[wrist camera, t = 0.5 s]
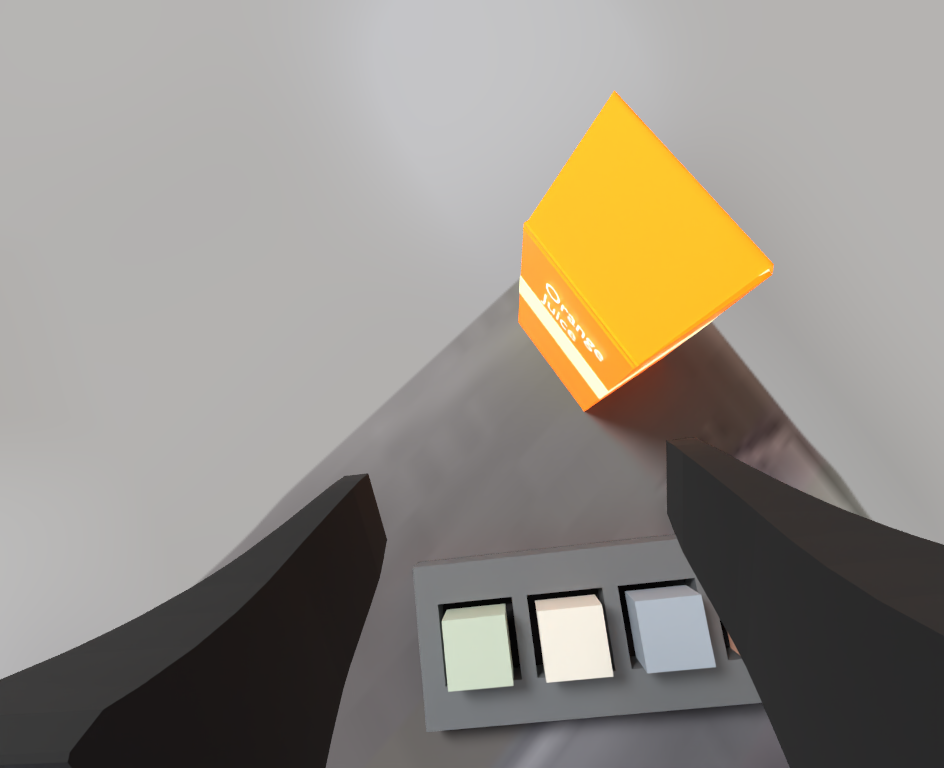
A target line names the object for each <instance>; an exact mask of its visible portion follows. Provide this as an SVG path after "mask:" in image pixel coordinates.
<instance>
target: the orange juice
mask: <svg viewBox="0 0 944 768" xmlns="http://www.w3.org/2000/svg"><path fill="white" fill-rule="evenodd" d="M523 229H524V230H523V249H522V266H521V276H520V287H519V293H520V302H519V321H518V322H519V323H520V325H521V326H522V328H523V329H524V330H525V332H526V333H527V334H528V336H529V337H530V338H531V340H532V341H533V343H534V344H535V345H536V347H537V348H538V349H539V351H540V352H541V353H542V355H543V356H544V357H545V359H546V360H547V362H548V363H549V364H550V366H551V367H552V368H553V370H554V371H555V372H556V374H557V375H558V376H559V378H560V379H561V381H562V382H563V383H564V385H565V386H566V387H567V389H568V390H569V391H570V393H571V394H572V396H573V397H574V398H575V400H576V401H577V402H578V404H579V405H580V406H581V408H582V409H583V410H584V411H586V410H587V409H589V408H590V407H592V406H593V405H595V404H596V403H597V402H599V401H600V400H602V399H603V398H605V397H606V396H608V395H609V394H611V393H612V392H614V391H615V390H617V389H618V388H619V387H621V386H622V385H624V384H625V383H627V382H628V381H630V380H631V379H633V378H634V377H636V376H637V375H638V374H640V373H641V372H643V371H644V370H646V369H647V368H649V367H650V366H652V365H653V364H655V363H656V362H658V361H659V360H660V359H662V358H663V357H665V356H666V355H667V354H669V353H670V352H671V351H673V350H674V349H675V348H677V347H678V346H679V345H681V344H682V343H683V342H685V341H686V340H687V339H689V338H690V337H692V336H693V335H695V334H696V333H697V332H699V331H700V330H701V329H703V328H704V327H705V326H707V325H708V324H709V323H711V322H712V321H713V320H714V319H715V318H716V317H717V316H719V315H720V314H721V313H722V312H723V311H725V310H726V309H728V308H729V307H730V306H732V305H733V304H734V303H736V302H737V301H738V300H740V299H741V298H742V297H743V296H745V295H746V294H747V293H749V292H750V291H751V290H753V289H754V288H755V287H756V286H758V285H759V284H760V283H762V282H763V281H764V280H766V279H767V278H768V277H770V276H771V275H772V274H771V273H772V272H773V263H772V262H771V261H770V260H769V259H768V258H767V257H766V256H765V255H764V253H762V251H761V250H760V249H759V248H758V247H757V246H756V245H755V244H754V243H753V241H752V240H751V239H750V238H749V237H748V236H747V235H746V234H745V233H744V232H743V231H742V229H741V228H740V227H739V226H738V225H737V224H736V223H735V222H734V221H733V220H732V219H731V217H730V216H729V215H728V214H727V213H726V212H725V211H724V210H723V209H722V208H721V207H720V206H719V204H718V203H717V202H716V201H715V200H714V199H713V198H712V197H711V196H710V195H709V193H708V192H707V191H706V190H705V189H704V188H703V187H702V186H701V185H700V184H699V182H698V181H697V180H696V179H695V178H694V177H693V176H692V175H691V174H690V173H689V172H688V170H687V169H686V168H685V167H684V166H683V165H682V164H681V163H680V162H679V161H678V160H677V158H675V156H674V155H673V154H672V153H671V152H670V151H669V150H668V149H667V148H666V147H665V146H664V144H663V143H662V142H661V141H660V140H659V139H658V138H657V137H656V136H655V134H654V133H653V132H652V131H651V130H650V129H649V128H648V127H647V126H646V125H645V124H644V122H643V121H642V120H641V119H640V118H639V117H638V116H637V115H636V114H635V113H634V112H633V110H632V109H631V108H630V107H629V106H628V105H627V104H626V103H625V102H624V101H623V100H622V99H621V97H620V96H619V95H618V94H617V93H616V92H615V91H614V92H613V94H612V95H611V97H610V98H609V100H608V101H607V103H606V104H605V106H604V107H603V109H602V110H601V112H600V113H599V115H598V116H597V118H596V119H595V121H594V122H593V124H592V125H591V127H590V128H589V130H588V131H587V133H586V134H585V136H584V138H583V139H582V140H581V142H580V143H579V145H578V146H577V148H576V149H575V151H574V152H573V154H572V155H571V157H570V158H569V160H568V162H567V163H566V165H565V166H564V167H563V169H562V171H561V172H560V173H559V175H558V177H557V178H556V179H555V181H554V182H553V184H552V186H551V187H550V189H549V190H548V192H547V193H546V195H545V196H544V198H543V199H542V201H541V202H540V204H539V205H538V207H537V208H536V210H535V211H534V213H533V214H532V216H531V218H530V219H529V220H528V221H526V222H525V223H524V228H523ZM769 271H770V272H771V273H770V272H769Z"/></svg>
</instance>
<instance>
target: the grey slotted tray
mask: <svg viewBox="0 0 944 768" xmlns="http://www.w3.org/2000/svg"><path fill="white" fill-rule="evenodd" d="M413 578H414V590H415V602H416V613H417V625H418V637H419V649H420V661H421V672H422V684H423V696H424V708H425V720H426V732H432V731H443V730H455V729H466V728H478V727H489V726H501V725H512V724H523V723H535V722H546V721H558V720H569V719H581V718H592V717H604V716H615V715H627V714H638V713H649V712H661V711H672V710H684V709H695V708H707V707H718V706H730V705H741V704H753V703H762V702H761V699H760V697H759V695H758V693H757V690H756V688H755V686H754V684H753V681H752V679H751V677H750V675H749V672H748V670H747V668H746V666H745V664H744V662H743V660H742V658H741V656H740V655H739V654H738V653H736V652H735V651H734V650H733V649H731V647H725V643H724V638H723V633H722V629H721V624H720V619H719V616H718V614H717V612H716V611H715V609H714V607H713V605H712V604H711V602H710V600H709V598H708V597H707V595H706V593H705V591H704V590H703V588H702V586H701V584H700V582H699V581H698V579H697V577H696V575H695V573H694V572H693V570H692V568H691V566H690V564H689V563H688V561H687V559H686V557H685V555H684V553H683V552H682V549H681V547H680V544H679V542H678V540H677V537H676V535H675V534H672V535H663V536H654V537H644V538H635V539H626V540H617V541H608V542H599V543H590V544H580V545H571V546H562V547H553V548H544V549H535V550H525V551H516V552H507V553H498V554H489V555H480V556H470V557H461V558H452V559H443V560H434V561H425V562H418V563H417V564H416V565H415V566H414V567H413ZM679 579H685V582H686V585H687V586H688V587H690V588H691V589H693V590H695V591H696V592H698V593H699V594H701V596H702V601H703V605H704V610H705V615H706V620H707V625H708V630H709V635H710V640H711V645H712V649H713V654H714V659H715V664H716V667H712V668H701V669H690V670H680V671H669V672H658V673H647V672H646V671H645V669H644V668H643V666H642V665H641V663H640V662H639V660H638V659H637V658H636V656H629V650H628V645H627V639H626V633H625V627H624V621H623V615H622V609H621V603H620V597H619V592H618V586H621V585H631V584H640V583H650V582H660V581H669V580H679ZM592 588H598V592H599V598H600V603H601V604H602V609H603V615H604V621H605V627H606V633H607V639H608V646H609V652H610V658H611V664H612V670H613V676H614V677H604V678H593V679H582V680H571V681H560V682H549V683H547V682H546V677H545V671H544V665H536V663H535V655H534V647H533V640H532V632H531V625H530V617H529V609H528V602H527V595H534V594H544V593H553V592H563V591H573V590H582V589H592ZM505 597H512V603H513V611H514V619H515V627H516V635H517V643H518V651H519V659H520V667H513V684H514V686H506V687H495V688H484V689H473V690H463V691H452V692H448V684H447V674H446V663H445V652H444V642H443V631H442V619H443V617H444V611H443V604H447V603H457V602H466V601H476V600H486V599H495V598H505Z"/></svg>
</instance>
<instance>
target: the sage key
mask: <svg viewBox="0 0 944 768" xmlns="http://www.w3.org/2000/svg"><path fill="white" fill-rule="evenodd" d="M442 631H443V642H444V652H445V663H446V674H447V684H448V692H452V691H463V690H473V689H484V688H495V687H506V686H514V684H513V662H512V654H511V646H510V638H509V630H508V621H507V613H506V605H505V604H496V605H486V606H476V607H467V608H457V609H447V610H446V613H445V615H444V617H443V619H442Z"/></svg>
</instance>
